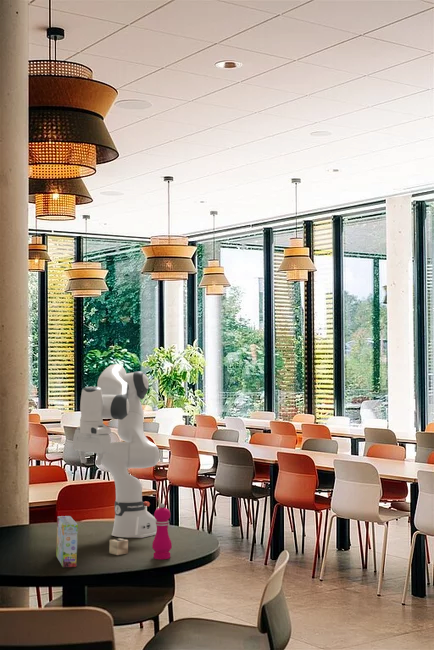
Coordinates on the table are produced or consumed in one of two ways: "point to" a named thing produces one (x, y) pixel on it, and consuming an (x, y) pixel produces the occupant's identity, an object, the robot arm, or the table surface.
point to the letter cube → (118, 546)
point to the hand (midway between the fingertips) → (90, 463)
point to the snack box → (67, 541)
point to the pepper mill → (162, 534)
